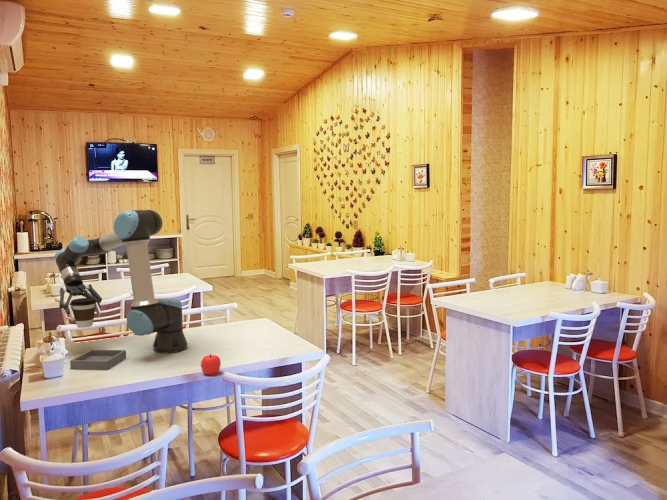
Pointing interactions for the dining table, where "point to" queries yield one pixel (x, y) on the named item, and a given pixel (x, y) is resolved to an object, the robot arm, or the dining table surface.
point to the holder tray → (98, 359)
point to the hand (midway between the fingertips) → (86, 316)
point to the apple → (210, 364)
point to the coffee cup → (83, 311)
